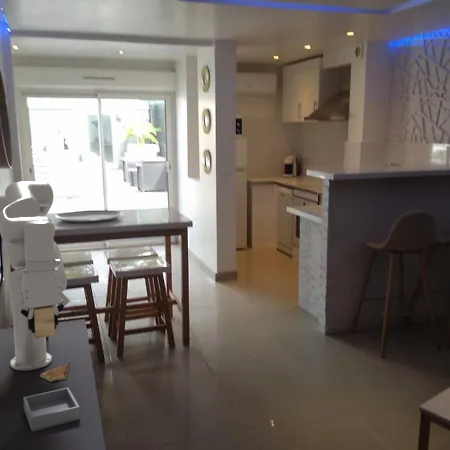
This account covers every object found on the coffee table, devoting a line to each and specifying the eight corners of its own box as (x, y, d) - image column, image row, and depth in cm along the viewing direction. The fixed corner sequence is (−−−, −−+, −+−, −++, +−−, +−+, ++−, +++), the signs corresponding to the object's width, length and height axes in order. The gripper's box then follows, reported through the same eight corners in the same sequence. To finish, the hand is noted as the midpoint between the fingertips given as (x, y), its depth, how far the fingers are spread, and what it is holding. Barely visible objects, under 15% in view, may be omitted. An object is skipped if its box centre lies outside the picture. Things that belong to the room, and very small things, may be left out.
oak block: (32, 333, 140) (31, 305, 139) (51, 330, 142) (49, 302, 141) (35, 338, 136) (34, 310, 135) (54, 335, 138) (53, 307, 137)
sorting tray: (23, 409, 134) (23, 397, 134) (68, 398, 140) (68, 387, 139) (31, 431, 124) (31, 418, 123) (80, 419, 130) (79, 406, 129)
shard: (70, 366, 162) (70, 361, 162) (84, 373, 157) (84, 368, 157) (39, 378, 154) (39, 372, 153) (53, 385, 149) (53, 380, 149)
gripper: (68, 260, 144) (71, 321, 146) (4, 266, 135) (8, 331, 138) (75, 265, 137) (77, 328, 140) (8, 272, 129) (12, 339, 131)
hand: (43, 329), depth 139 cm, fingers closed on oak block, 5 cm apart
